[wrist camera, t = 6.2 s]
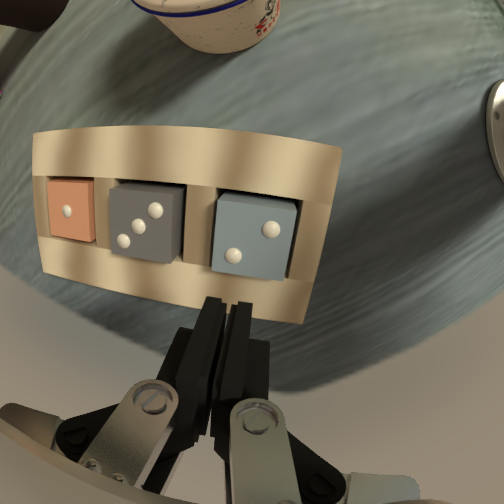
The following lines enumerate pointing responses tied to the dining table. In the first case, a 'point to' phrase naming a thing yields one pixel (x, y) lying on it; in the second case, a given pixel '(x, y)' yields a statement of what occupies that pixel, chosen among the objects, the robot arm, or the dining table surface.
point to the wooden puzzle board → (188, 209)
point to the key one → (72, 207)
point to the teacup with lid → (216, 21)
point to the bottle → (30, 13)
